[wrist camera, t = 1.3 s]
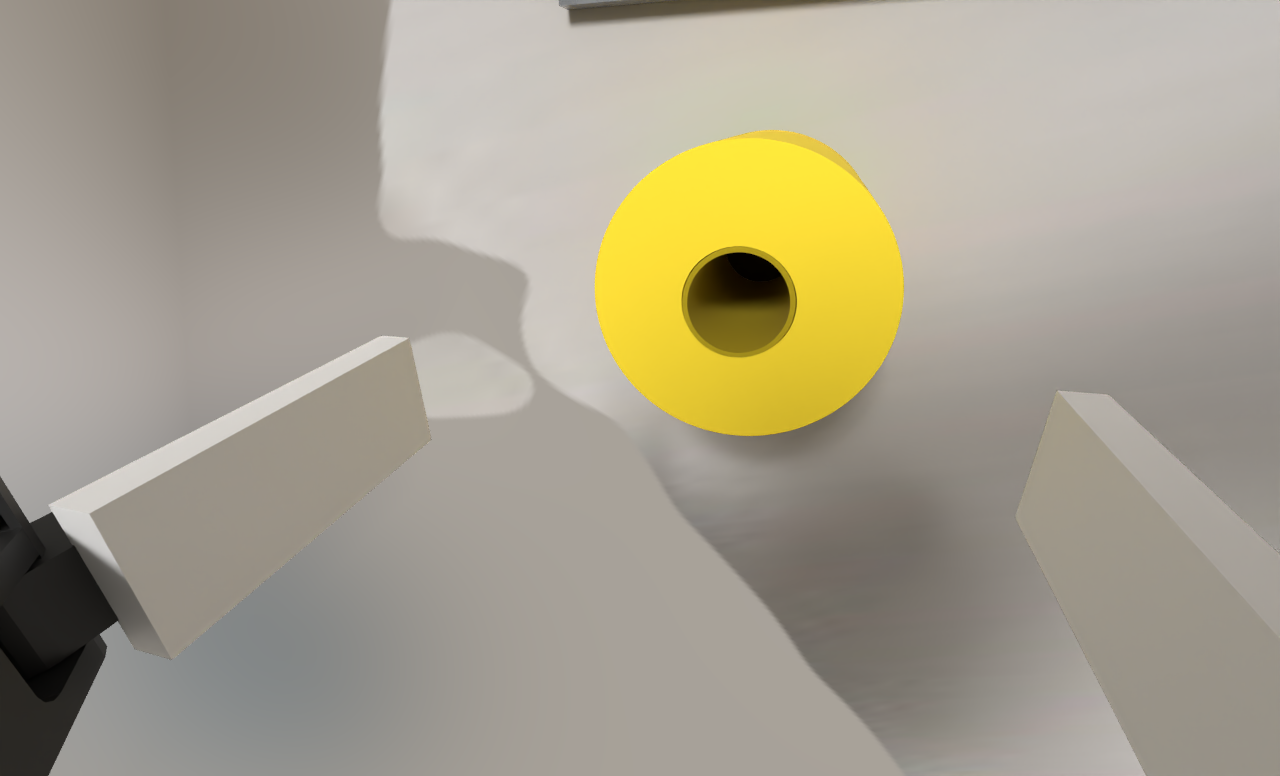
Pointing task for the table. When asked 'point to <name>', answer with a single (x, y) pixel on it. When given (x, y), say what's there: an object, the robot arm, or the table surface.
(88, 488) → the robot arm
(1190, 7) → the table surface
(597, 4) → the ring collar plate
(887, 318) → the tape roll
